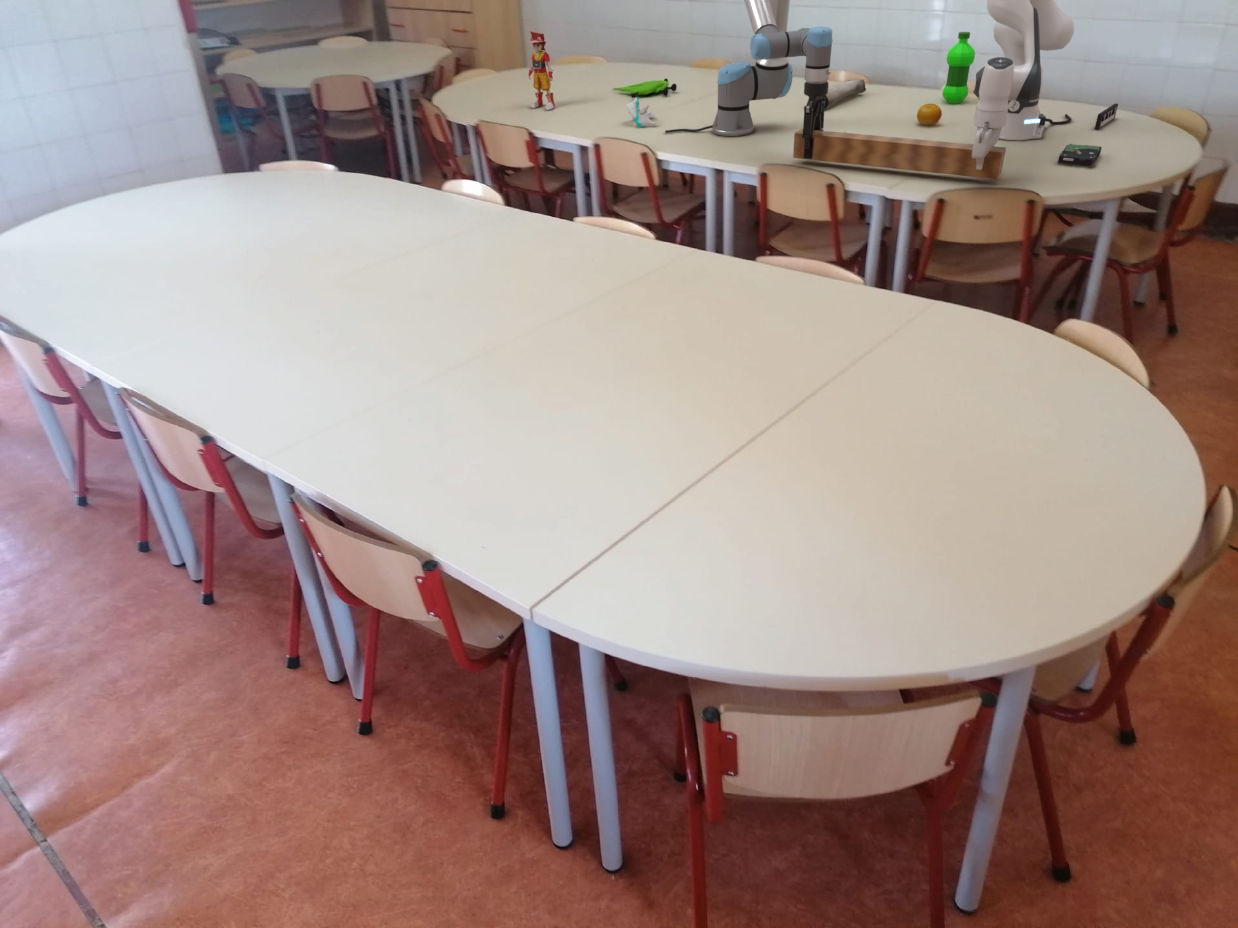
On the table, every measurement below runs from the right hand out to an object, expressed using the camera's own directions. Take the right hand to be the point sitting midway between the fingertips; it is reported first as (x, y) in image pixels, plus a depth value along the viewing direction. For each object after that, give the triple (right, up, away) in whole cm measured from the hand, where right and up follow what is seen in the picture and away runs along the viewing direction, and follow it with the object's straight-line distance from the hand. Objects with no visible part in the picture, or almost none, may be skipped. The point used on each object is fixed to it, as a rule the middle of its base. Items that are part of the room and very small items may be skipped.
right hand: (981, 165), depth 272 cm
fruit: (+4, +35, +58) cm, 68 cm away
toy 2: (-101, +74, +125) cm, 177 cm away
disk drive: (+37, +7, +15) cm, 41 cm away
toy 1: (-143, +62, +111) cm, 191 cm away
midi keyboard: (+63, +31, +47) cm, 84 cm away
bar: (-23, +5, +13) cm, 27 cm away
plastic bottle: (+22, +53, +83) cm, 101 cm away
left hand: (-47, +12, +25) cm, 54 cm away
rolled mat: (-22, +57, +93) cm, 112 cm away
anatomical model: (-102, +44, +81) cm, 137 cm away
